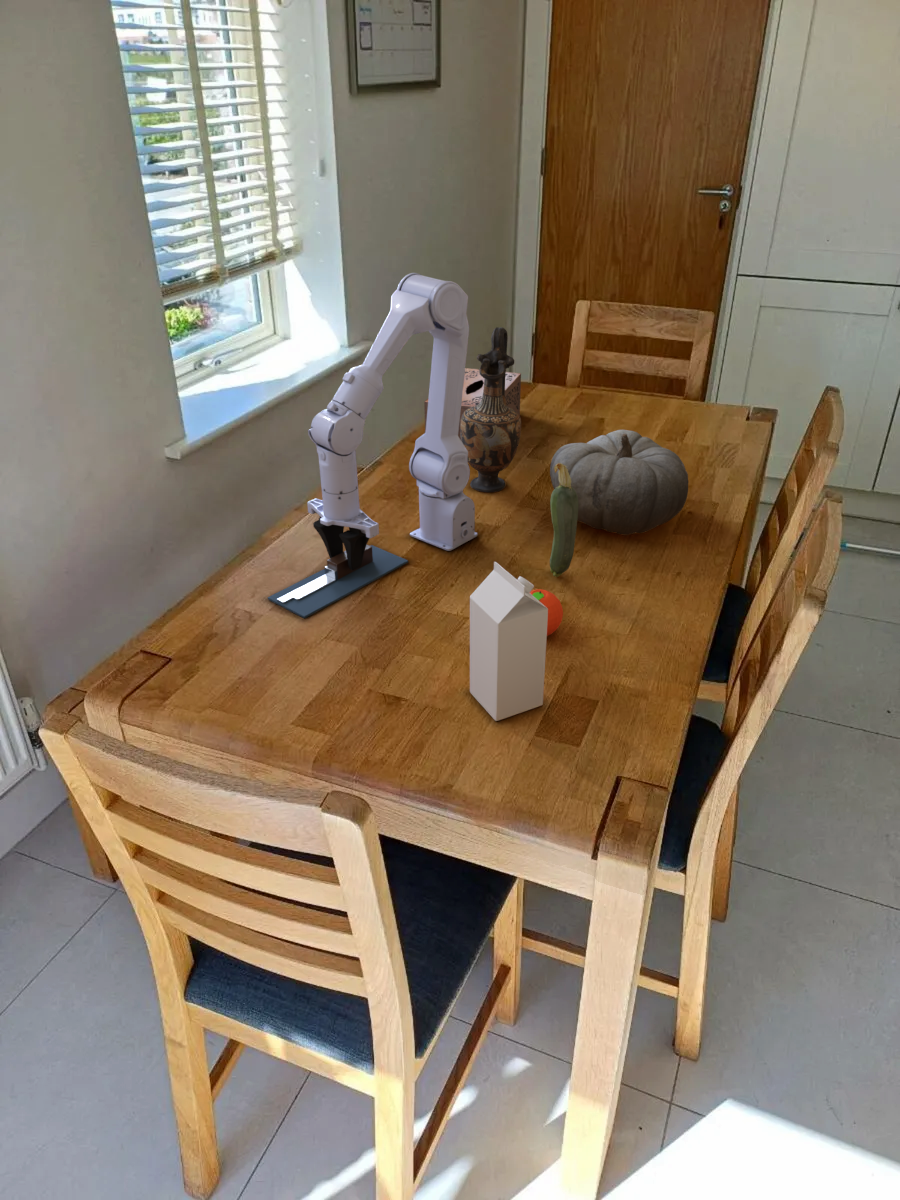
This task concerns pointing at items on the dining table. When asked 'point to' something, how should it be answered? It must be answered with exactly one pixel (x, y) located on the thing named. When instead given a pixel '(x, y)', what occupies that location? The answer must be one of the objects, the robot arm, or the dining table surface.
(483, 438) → the vase
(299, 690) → the dining table surface
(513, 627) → the milk carton
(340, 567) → the knife
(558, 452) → the gourd
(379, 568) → the mat
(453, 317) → the robot arm
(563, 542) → the vegetable
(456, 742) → the dining table surface
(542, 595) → the clementine
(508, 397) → the tissue box cover
